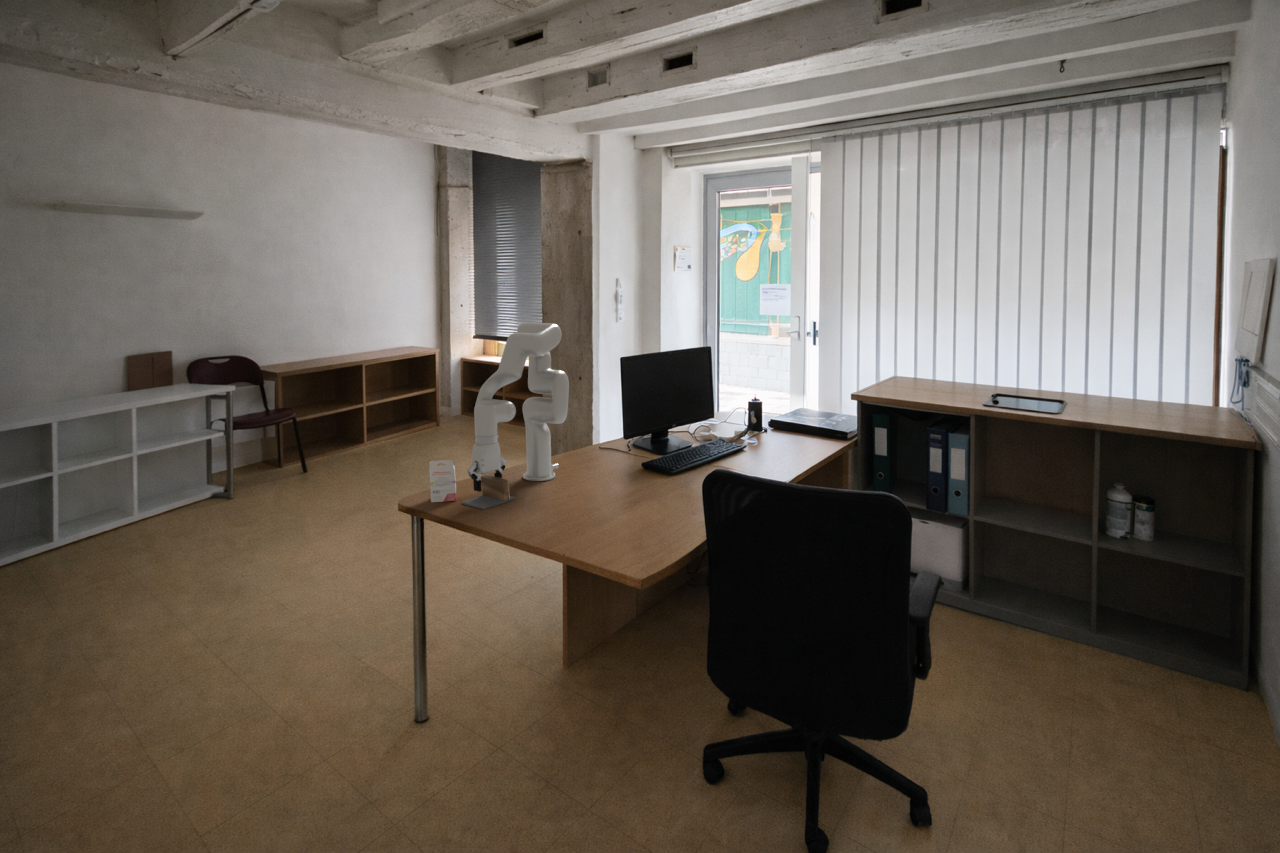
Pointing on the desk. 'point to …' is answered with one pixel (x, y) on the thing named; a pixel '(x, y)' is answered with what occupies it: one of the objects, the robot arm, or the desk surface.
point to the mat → (485, 502)
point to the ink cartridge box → (442, 481)
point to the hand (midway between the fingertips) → (488, 487)
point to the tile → (495, 487)
